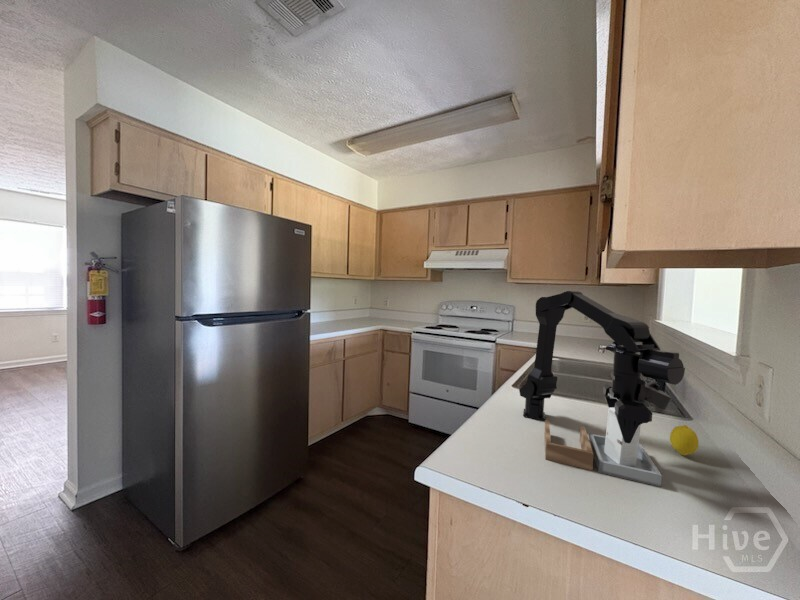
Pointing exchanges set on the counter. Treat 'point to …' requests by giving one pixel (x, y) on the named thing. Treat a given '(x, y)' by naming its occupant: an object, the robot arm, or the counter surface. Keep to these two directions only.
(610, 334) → the robot arm
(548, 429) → the bay
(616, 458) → the skincare box
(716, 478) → the counter surface
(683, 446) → the lemon
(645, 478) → the tray
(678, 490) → the counter surface
